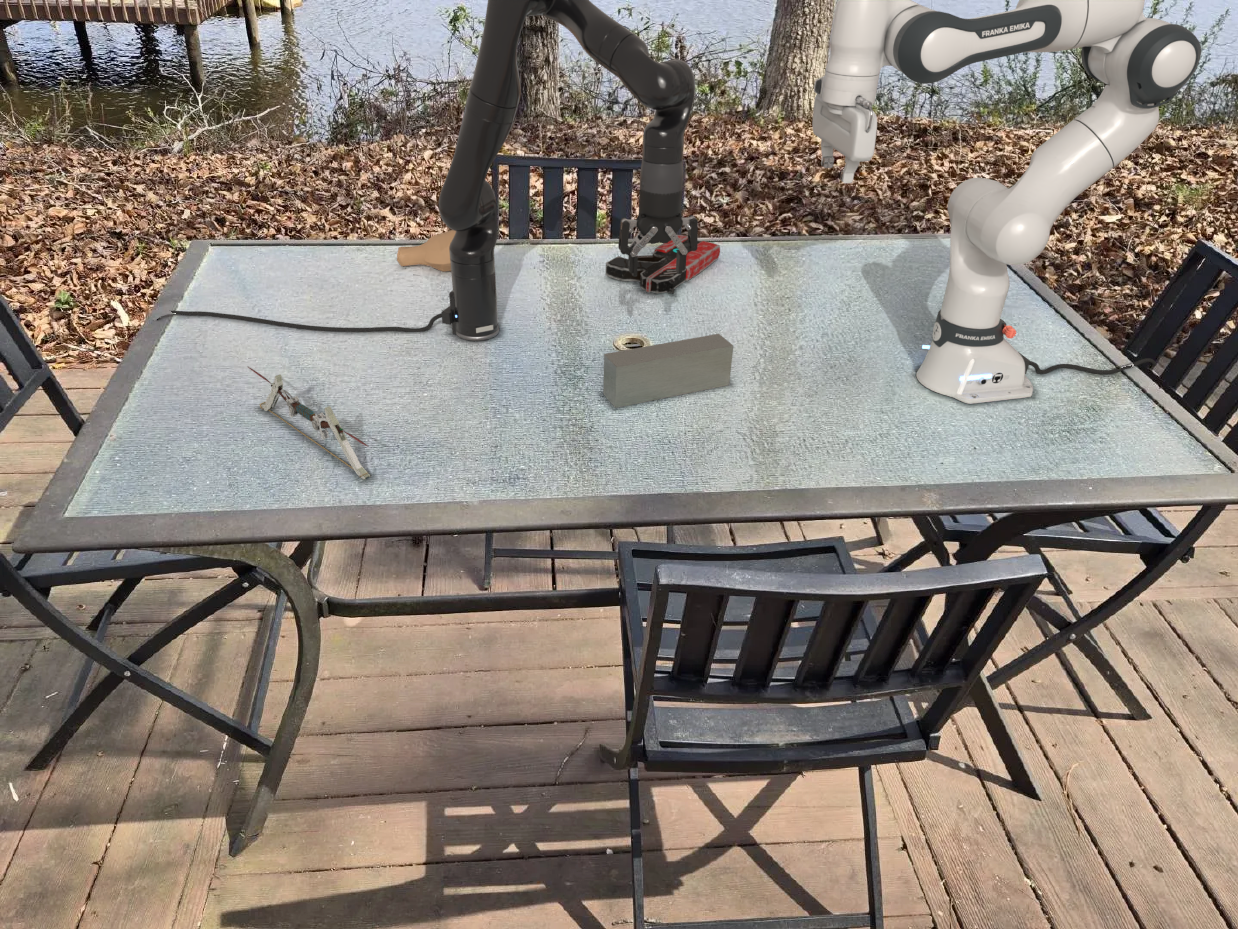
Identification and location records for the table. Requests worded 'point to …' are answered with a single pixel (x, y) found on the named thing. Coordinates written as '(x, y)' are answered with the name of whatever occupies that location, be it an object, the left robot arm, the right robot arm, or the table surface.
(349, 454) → the bow
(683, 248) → the left robot arm
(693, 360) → the bar
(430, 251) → the squash
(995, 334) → the right robot arm
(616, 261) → the gun
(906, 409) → the table surface
